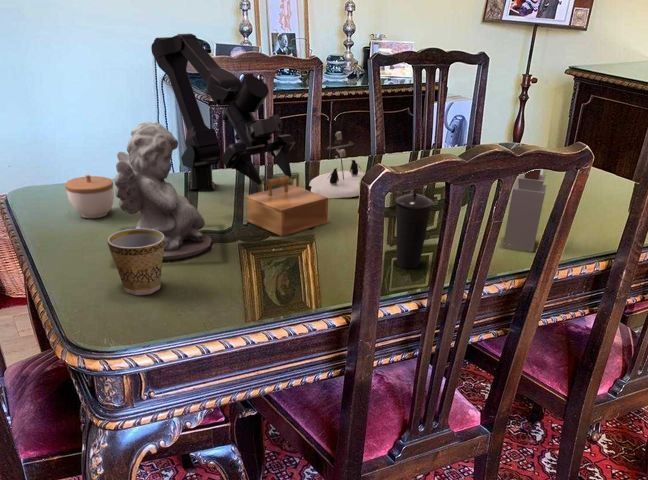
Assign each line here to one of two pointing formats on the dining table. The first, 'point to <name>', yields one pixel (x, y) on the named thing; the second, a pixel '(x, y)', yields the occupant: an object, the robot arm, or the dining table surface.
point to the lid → (285, 196)
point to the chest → (287, 218)
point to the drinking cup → (411, 228)
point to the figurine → (338, 177)
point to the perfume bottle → (525, 211)
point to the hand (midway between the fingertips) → (275, 180)
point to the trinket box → (90, 195)
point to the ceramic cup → (138, 259)
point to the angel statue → (159, 193)
